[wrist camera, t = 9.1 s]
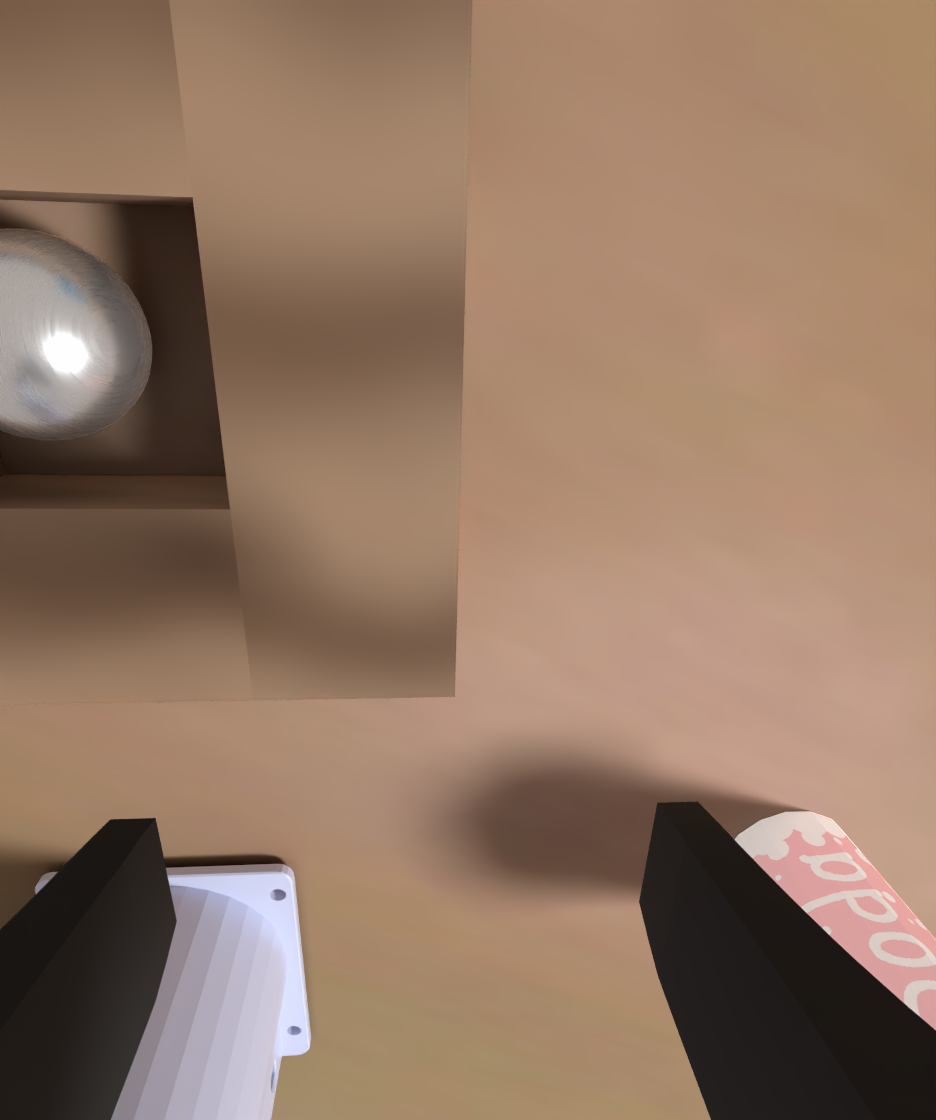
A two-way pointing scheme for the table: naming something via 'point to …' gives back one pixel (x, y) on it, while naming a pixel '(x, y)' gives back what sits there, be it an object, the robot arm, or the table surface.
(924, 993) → the beverage cup
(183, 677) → the wooden square frame
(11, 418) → the steel ball
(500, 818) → the table surface
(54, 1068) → the robot arm
